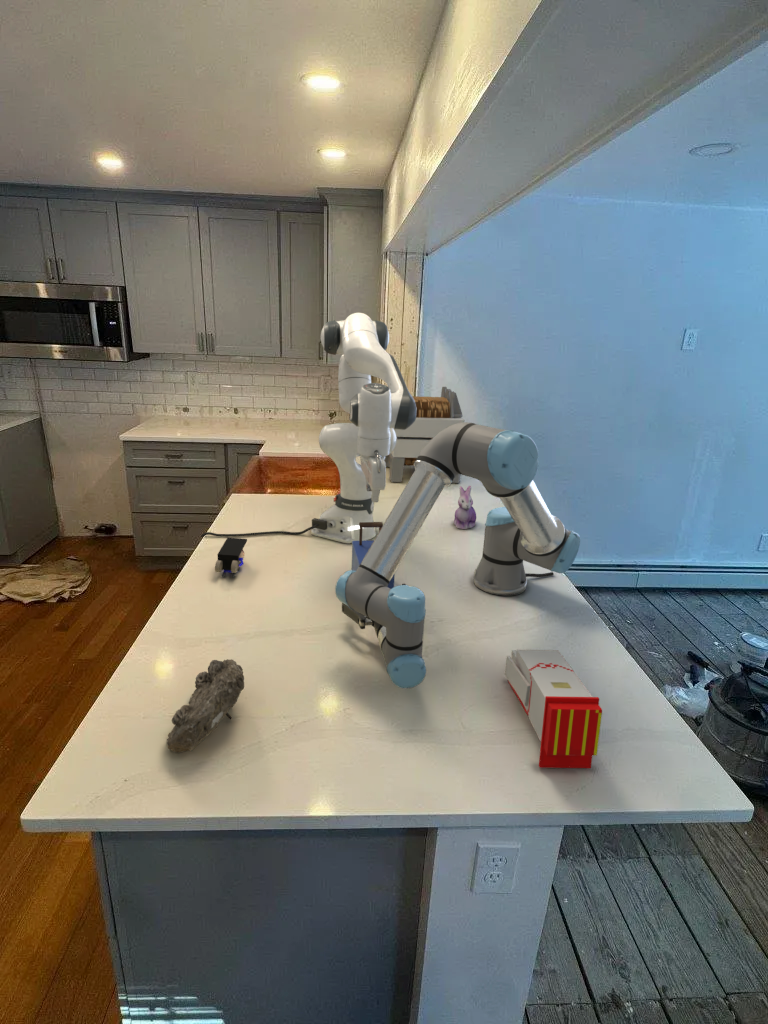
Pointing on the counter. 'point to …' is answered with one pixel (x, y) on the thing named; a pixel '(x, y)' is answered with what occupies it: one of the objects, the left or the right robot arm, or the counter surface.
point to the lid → (364, 546)
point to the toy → (556, 707)
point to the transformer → (423, 430)
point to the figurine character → (230, 556)
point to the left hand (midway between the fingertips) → (372, 496)
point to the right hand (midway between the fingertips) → (377, 589)
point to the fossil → (206, 705)
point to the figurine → (465, 510)
